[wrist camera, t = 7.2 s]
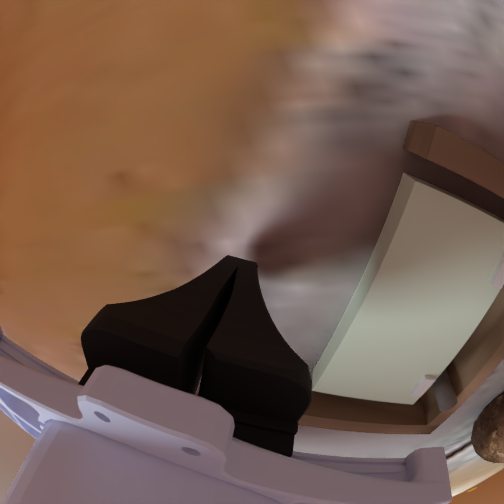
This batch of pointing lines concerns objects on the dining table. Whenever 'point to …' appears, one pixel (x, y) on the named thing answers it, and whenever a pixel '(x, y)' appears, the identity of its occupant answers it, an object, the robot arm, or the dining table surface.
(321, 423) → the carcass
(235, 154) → the dining table surface
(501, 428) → the mushroom
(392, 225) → the door
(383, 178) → the dining table surface
